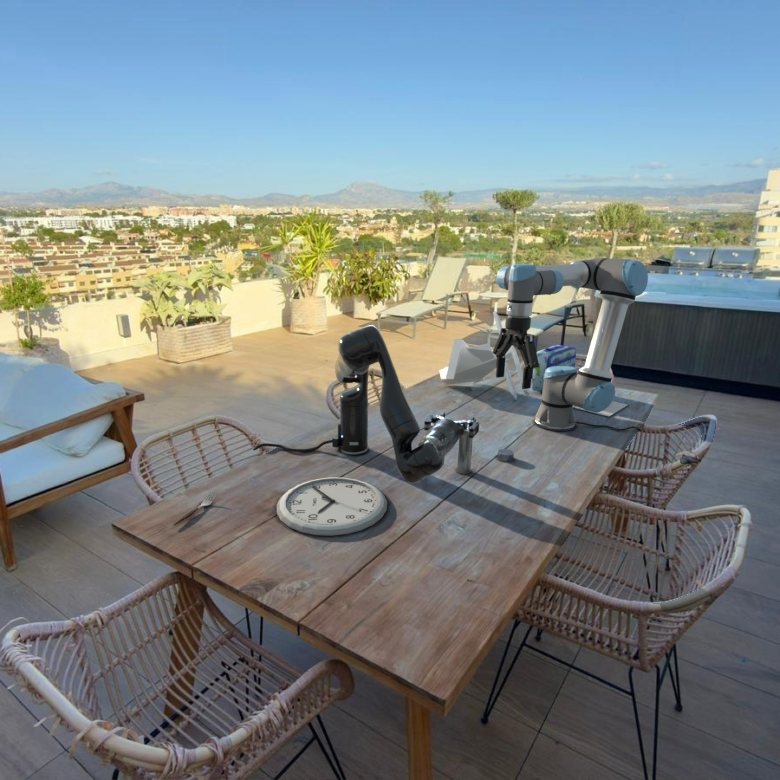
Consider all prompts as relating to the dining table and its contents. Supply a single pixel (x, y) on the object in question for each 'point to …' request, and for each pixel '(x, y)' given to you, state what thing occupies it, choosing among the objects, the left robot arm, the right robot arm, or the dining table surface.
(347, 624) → the dining table surface
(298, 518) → the wall clock
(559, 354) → the lunch box
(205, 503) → the fork
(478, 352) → the white plastic object
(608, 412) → the invitation card
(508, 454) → the lid
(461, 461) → the silver metal cylinder
